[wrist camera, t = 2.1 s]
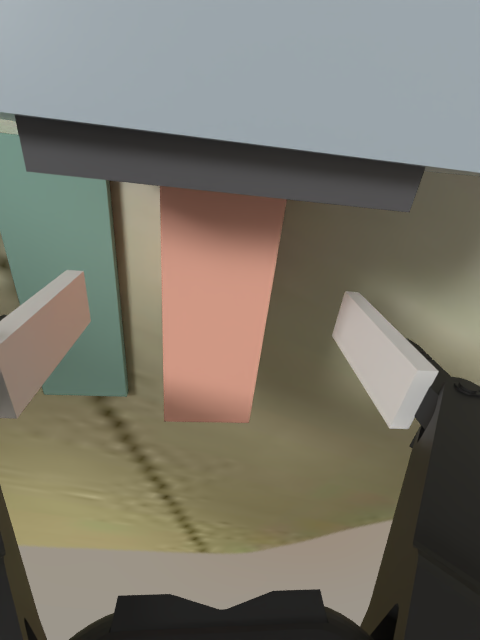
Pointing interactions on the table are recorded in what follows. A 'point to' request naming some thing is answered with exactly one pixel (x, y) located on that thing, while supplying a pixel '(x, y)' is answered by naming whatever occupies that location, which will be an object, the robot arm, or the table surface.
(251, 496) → the table surface
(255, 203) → the long salmon pink block
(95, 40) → the pale blue cube
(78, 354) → the mat
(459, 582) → the robot arm
